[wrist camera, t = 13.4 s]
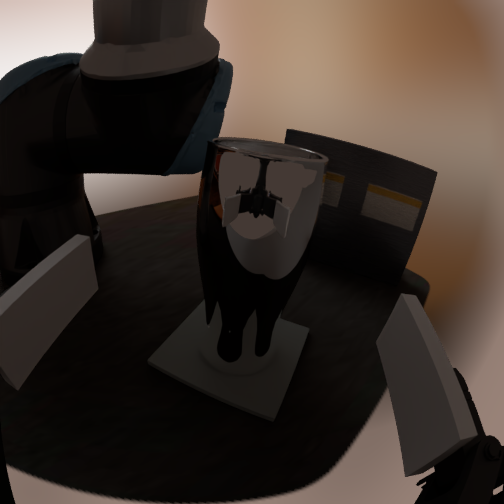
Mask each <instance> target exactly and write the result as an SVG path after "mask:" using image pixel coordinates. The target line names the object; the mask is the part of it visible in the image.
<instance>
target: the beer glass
mask: <svg viewBox="0 0 504 504" xmlns="http://www.w3.org/2000/svg"><path fill="white" fill-rule="evenodd" d="M328 162H329V159H328V158H327V157H326V156H324V155H322V154H320V153H317V152H314V151H311V150H308V149H304V148H300V147H296V146H292V145H288V144H283V143H277V142H272V141H265V140H257V139H248V138H235V137H234V138H232V137H217V138H210V139H208V140H207V148H206V154H205V160H204V165H203V170H202V176H201V182H200V188H199V196H198V205H197V221H196V239H197V252H198V261H199V268H200V274H201V281H202V287H203V293H204V300H205V318H204V322H203V326H202V329H201V333H200V337H199V350H200V353H201V355H202V357H203V358H204V360H205V361H206V362H207V363H208V364H209V365H210V366H212V367H213V368H215V369H216V370H218V371H220V372H223V373H226V374H230V375H237V376H244V375H251V374H255V373H258V372H260V371H262V370H263V369H265V368H266V367H267V366H268V365H269V364H270V363H271V362H272V360H273V358H274V356H275V352H276V334H277V327H278V322H279V320H280V317H281V314H282V312H283V310H284V308H285V306H286V304H287V302H288V300H289V298H290V296H291V294H292V293H293V291H294V289H295V287H296V285H297V283H298V281H299V278H300V276H301V274H302V272H303V270H304V267H305V265H306V263H307V260H308V258H309V255H310V253H311V250H312V246H313V243H314V239H315V236H316V233H317V228H318V224H319V219H320V214H321V209H322V203H323V196H324V189H325V181H326V174H327V167H328Z"/></svg>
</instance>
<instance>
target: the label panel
mask: <svg viewBox="0 0 504 504" xmlns="http://www.w3.org/2000/svg"><path fill="white" fill-rule="evenodd" d="M284 144H288V145H292V146H296V147H300V148H304V149H308V150H311V151H314V152H317V153H320V154H322V155H324V156H326V157H327V158H328V159H329V162H328V167H327V174H326V181H325V189H324V196H323V203H322V209H321V214H320V219H319V224H318V228H317V233H316V236H315V239H314V243H313V246H312V250H311V253H310V255H309V258H308V259H311V260H314V261H317V262H321V263H324V264H327V265H330V266H333V267H337V268H340V269H343V270H346V271H349V272H353V273H356V274H359V275H362V276H365V277H368V278H371V279H375V280H378V281H381V282H384V283H387V284H390V285H393V286H397V285H398V283H399V281H400V278H401V276H402V274H403V271H404V269H405V267H406V264H407V262H408V259H409V257H410V255H411V252H412V249H413V246H414V244H415V241H416V239H417V236H418V233H419V231H420V228H421V225H422V222H423V219H424V216H425V213H426V210H427V207H428V204H429V201H430V197H431V194H432V190H433V187H434V183H435V180H436V176H437V172H436V171H434V170H432V169H429V168H427V167H424V166H421V165H419V164H416V163H414V162H411V161H408V160H405V159H402V158H399V157H396V156H393V155H390V154H387V153H384V152H381V151H378V150H374V149H371V148H367V147H364V146H361V145H357V144H353V143H350V142H346V141H342V140H338V139H334V138H330V137H326V136H321V135H317V134H312V133H308V132H303V131H298V130H293V129H287V131H286V137H285V143H284Z"/></svg>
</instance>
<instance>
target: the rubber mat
mask: <svg viewBox="0 0 504 504" xmlns="http://www.w3.org/2000/svg"><path fill="white" fill-rule="evenodd" d="M204 318H205V300H203V301H202V303H201V304H200V305H199V306H198V307H197V308H196V309H195V310H194V311H193V312H192V313H191V314H190V315H189V316H188V317H187V318H186V319H185V321H184V322H183V323H182V324H181V325H180V326H179V327H178V328H177V329H176V330H175V331H174V332H173V333H172V334H171V335H170V336H169V337H168V339H167V340H166V341H165V342H164V343H163V344H162V345H161V346H160V347H159V348H158V349H157V350H156V351H155V352H154V353H153V354H152V355H151V357H150V358H149V359H148V360H147V361H148V364H149V365H151V366H152V367H154V368H156V369H158V370H159V371H161V372H163V373H165V374H167V375H168V376H170V377H172V378H174V379H176V380H178V381H180V382H182V383H184V384H186V385H188V386H190V387H192V388H194V389H196V390H198V391H200V392H202V393H204V394H206V395H208V396H210V397H213V398H215V399H217V400H219V401H222V402H224V403H226V404H228V405H231V406H233V407H236V408H238V409H240V410H243V411H245V412H248V413H250V414H253V415H256V416H258V417H261V418H264V419H266V420H269V421H272V422H274V420H275V417H276V415H277V413H278V410H279V408H280V405H281V403H282V401H283V398H284V396H285V393H286V391H287V388H288V386H289V383H290V381H291V378H292V375H293V373H294V370H295V368H296V365H297V362H298V359H299V357H300V354H301V351H302V348H303V346H304V343H305V340H306V337H307V334H308V331H309V328H307V327H304V326H301V325H298V324H295V323H292V322H289V321H286V320H283V319H280V320H279V322H278V327H277V334H276V352H275V356H274V358H273V360H272V362H271V363H270V364H269V365H268V366H267V367H266V368H265V369H263V370H262V371H260V372H258V373H255V374H251V375H244V376H237V375H230V374H226V373H223V372H220V371H218V370H216V369H215V368H213V367H212V366H210V365H209V364H208V363H207V362H206V361H205V360H204V358H203V357H202V355H201V353H200V350H199V337H200V333H201V329H202V326H203V322H204Z"/></svg>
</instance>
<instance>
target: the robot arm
mask: <svg viewBox="0 0 504 504" xmlns="http://www.w3.org/2000/svg"><path fill="white" fill-rule="evenodd" d="M206 7H207V0H93V17H94V33H95V40H94V42H93V43H92V44H91V45H90V47H89V48H88V49H87V50H86V52H85V53H84V54H80V53H60V54H56V55H53V56H49V57H47V56H44V57H40V58H37V59H34V60H31V61H29V62H26V63H24V64H22V65H20V66H18V67H16V68H14V69H13V70H11V71H10V72H8V73H7V74H6V75H5V76H4V77H3V78H2V79H1V80H0V271H1V274H2V277H3V279H4V281H5V282H6V283H7V284H8V285H10V286H11V287H10V288H8V289H7V290H5V291H4V292H3V293H2V294H1V295H0V374H1V375H2V377H3V378H4V379H5V381H6V382H7V383H9V384H10V385H11V386H12V387H14V388H15V389H16V390H19V388H20V387H21V386H22V384H23V383H24V381H25V380H26V378H27V377H28V376H29V374H30V373H31V371H32V370H33V369H34V367H35V366H36V364H37V363H38V362H39V360H40V359H41V358H42V356H43V355H44V354H45V352H46V351H47V350H48V349H49V347H50V346H51V345H52V343H53V342H54V341H55V340H56V338H57V337H58V336H59V335H60V333H61V332H62V331H63V330H64V328H65V327H66V326H67V325H68V324H69V322H70V321H71V320H72V319H73V318H74V316H75V315H76V314H77V313H78V312H79V310H80V309H81V308H82V307H83V306H84V305H85V304H86V302H87V301H88V300H89V299H90V298H91V297H92V296H93V294H94V293H95V292H96V291H97V290H98V289H99V288H98V283H97V278H96V273H95V267H94V265H95V264H96V263H97V262H98V260H99V259H100V257H101V255H102V252H103V243H102V234H101V230H100V227H99V225H98V222H97V220H96V218H95V215H94V213H93V211H92V208H91V206H90V203H89V201H88V198H87V196H86V193H85V190H84V177H83V173H85V174H86V173H107V174H112V173H113V174H145V175H161V176H168V175H170V174H195V173H198V172H200V171H202V170H203V165H204V160H205V154H206V148H207V140H208V139H210V138H217V137H218V136H219V133H220V130H221V126H222V122H223V118H224V109H225V108H226V104H227V100H228V98H229V93H230V89H231V84H232V77H233V66H232V64H231V63H230V62H227V61H225V60H224V59H221V58H218V54H219V48H220V44H219V41H218V40H217V39H216V38H215V37H214V36H213V35H212V34H211V33H210V32H209V31H208V30H207V29H206V28H205V27H204V20H205V13H206ZM376 344H377V347H378V351H379V354H380V358H381V361H382V365H383V369H384V373H385V377H386V381H387V385H388V389H389V392H390V397H391V401H392V405H393V410H394V415H395V419H396V425H397V429H398V435H399V441H400V446H401V452H402V459H403V465H404V472H405V477H408V476H412V475H417V474H421V473H424V472H425V471H427V470H429V469H430V468H432V467H434V469H435V472H433V473H432V474H430V475H428V476H426V477H425V478H423V479H421V480H420V481H419V482H418V483H417V484H416V485H417V486H419V485H421V484H423V483H424V482H426V484H425V485H423V486H422V487H421V488H422V489H423V490H422V491H421V493H420V495H419V497H418V498H417V500H416V502H415V503H414V504H504V446H501V444H500V442H499V440H498V439H496V438H495V437H494V436H491V435H489V436H486V435H485V432H484V430H483V427H482V424H481V421H480V418H479V415H478V412H477V410H476V407H475V404H474V402H473V401H472V397H471V394H470V392H468V387H467V384H466V382H465V380H464V378H463V376H462V375H461V374H460V373H459V371H458V370H457V369H456V368H452V365H451V364H450V361H449V359H448V357H447V355H446V352H445V350H444V348H443V346H442V344H441V342H440V340H439V338H438V336H437V334H436V332H435V330H434V328H433V326H432V324H431V322H430V320H429V318H428V317H427V315H426V313H425V311H424V309H423V307H422V306H421V304H420V302H419V300H418V298H417V297H416V296H415V295H409V294H402V293H401V295H400V297H399V299H398V301H397V303H396V305H395V307H394V309H393V311H392V313H391V315H390V317H389V319H388V321H387V323H386V325H385V327H384V328H383V330H382V332H381V334H380V336H379V337H378V339H377V341H376ZM502 484H503V491H501V492H499V493H498V494H496V495H493V490H494V489H496V488H497V487H499V486H501V485H502ZM0 504H15V501H14V498H13V494H12V490H11V486H10V482H9V477H8V473H7V468H6V462H5V456H4V450H3V443H2V434H1V424H0Z"/></svg>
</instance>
